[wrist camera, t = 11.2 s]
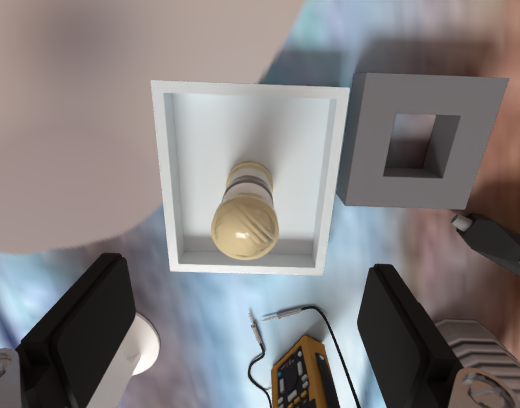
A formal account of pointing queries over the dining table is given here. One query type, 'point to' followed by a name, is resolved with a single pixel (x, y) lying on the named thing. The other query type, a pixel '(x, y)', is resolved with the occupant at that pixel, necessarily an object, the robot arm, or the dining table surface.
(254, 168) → the cylinder
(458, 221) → the gun
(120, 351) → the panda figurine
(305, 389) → the multimeter
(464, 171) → the grey flat square block
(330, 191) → the parts tray
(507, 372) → the can
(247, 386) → the dining table surface
